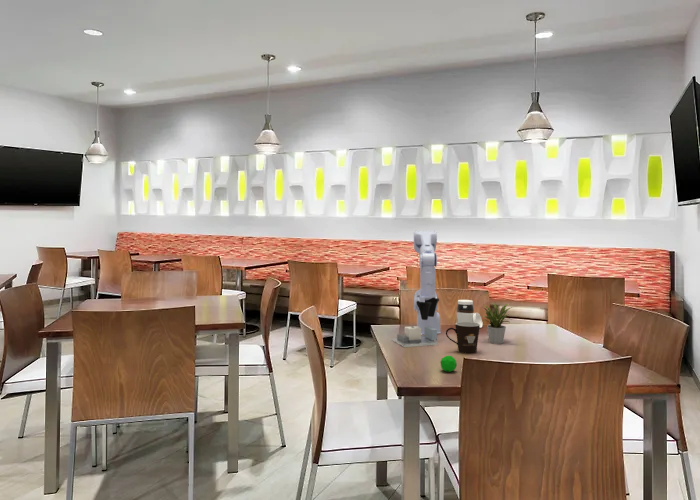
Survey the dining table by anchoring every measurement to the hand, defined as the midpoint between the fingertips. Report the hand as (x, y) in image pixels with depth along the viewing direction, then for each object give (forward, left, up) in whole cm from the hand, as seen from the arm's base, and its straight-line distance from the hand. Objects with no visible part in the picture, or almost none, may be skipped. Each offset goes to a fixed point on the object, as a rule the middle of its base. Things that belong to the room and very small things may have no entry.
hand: (427, 318), depth 203 cm
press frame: (+6, 0, -9) cm, 11 cm away
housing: (+7, 0, -8) cm, 11 cm away
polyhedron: (+12, +40, -10) cm, 43 cm away
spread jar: (-31, -23, -10) cm, 40 cm away
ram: (-1, 0, -8) cm, 8 cm away
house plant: (-26, +9, -10) cm, 30 cm away
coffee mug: (-5, +18, -10) cm, 21 cm away
